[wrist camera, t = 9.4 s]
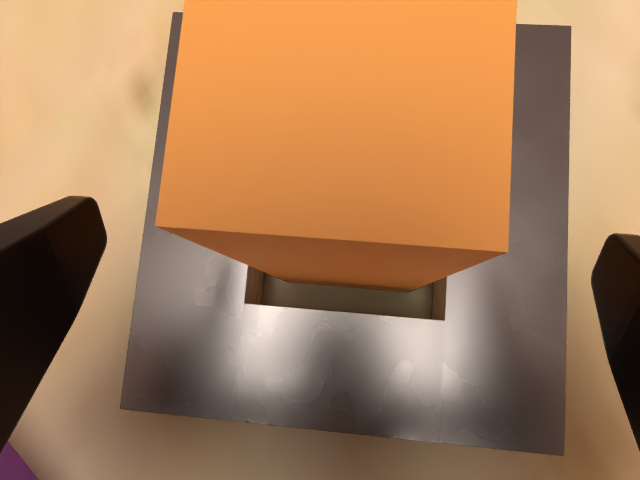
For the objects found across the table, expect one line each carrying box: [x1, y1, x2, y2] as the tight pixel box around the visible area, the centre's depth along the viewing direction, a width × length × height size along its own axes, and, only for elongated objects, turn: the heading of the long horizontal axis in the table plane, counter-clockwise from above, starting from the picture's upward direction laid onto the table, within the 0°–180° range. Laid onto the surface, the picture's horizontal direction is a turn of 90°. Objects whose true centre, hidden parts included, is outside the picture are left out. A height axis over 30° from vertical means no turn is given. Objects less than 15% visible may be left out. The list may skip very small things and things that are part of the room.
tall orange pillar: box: [155, 0, 517, 292], centre depth 11 cm, size 4×4×11 cm
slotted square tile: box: [120, 12, 571, 456], centre depth 15 cm, size 12×12×2 cm
